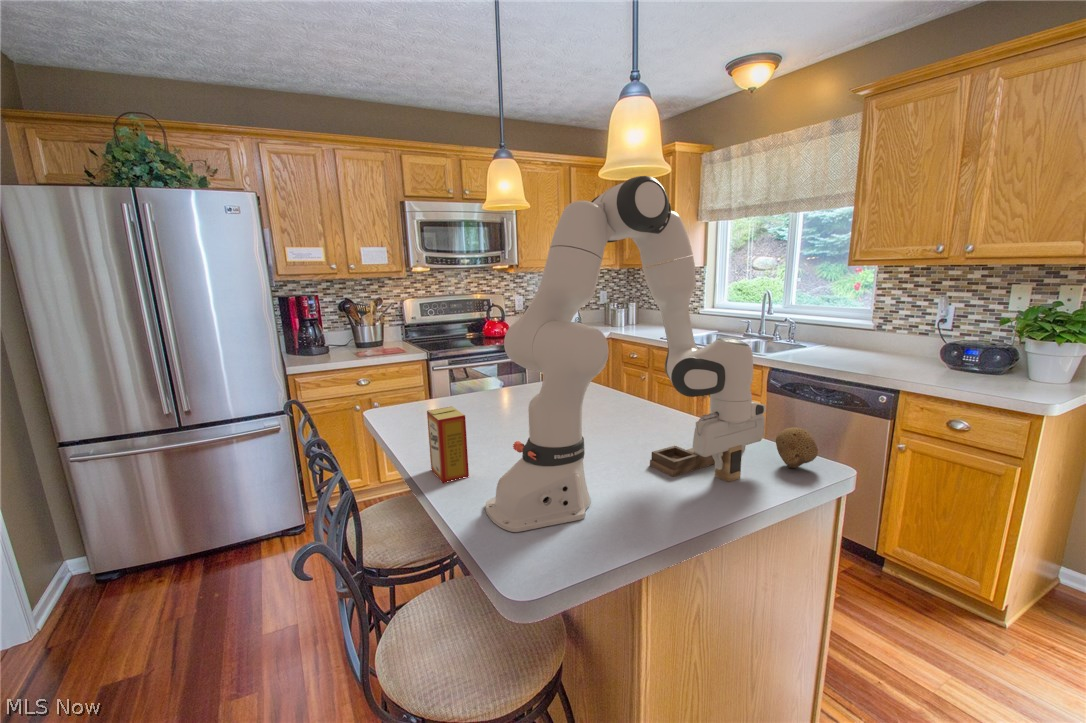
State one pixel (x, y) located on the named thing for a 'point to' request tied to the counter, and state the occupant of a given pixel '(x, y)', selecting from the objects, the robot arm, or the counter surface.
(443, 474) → the baking soda box
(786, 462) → the natural sponge
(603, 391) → the counter surface
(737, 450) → the block
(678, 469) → the wooden block holder
